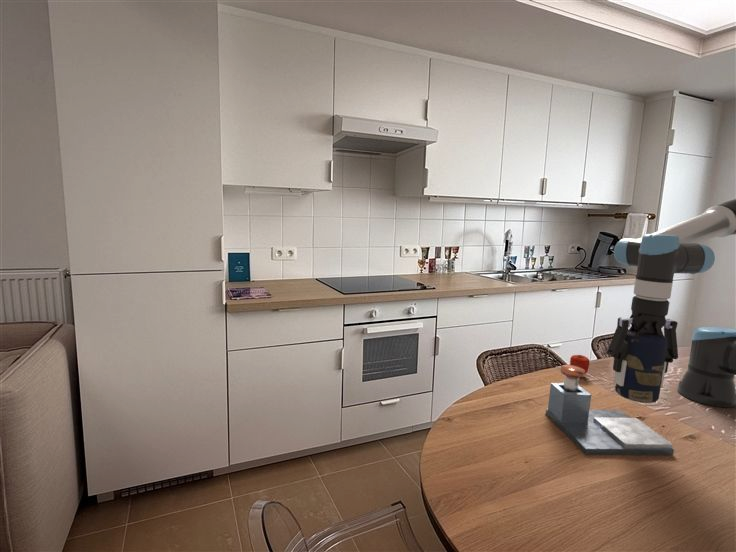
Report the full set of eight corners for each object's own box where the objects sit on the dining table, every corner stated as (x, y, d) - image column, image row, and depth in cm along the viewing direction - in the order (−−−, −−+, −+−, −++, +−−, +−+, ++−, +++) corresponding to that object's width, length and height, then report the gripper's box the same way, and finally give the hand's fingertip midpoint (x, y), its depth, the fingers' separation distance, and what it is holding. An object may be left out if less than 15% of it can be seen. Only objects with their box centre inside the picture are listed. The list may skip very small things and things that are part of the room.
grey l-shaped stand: (619, 414, 120) (623, 383, 118) (673, 455, 100) (679, 418, 99) (545, 413, 119) (549, 382, 117) (585, 454, 99) (590, 417, 97)
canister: (665, 408, 99) (677, 336, 97) (622, 403, 101) (632, 332, 98) (647, 392, 109) (657, 325, 106) (608, 387, 110) (617, 322, 108)
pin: (573, 394, 117) (577, 365, 116) (585, 404, 111) (589, 373, 110) (553, 394, 117) (556, 364, 115) (564, 403, 111) (568, 373, 109)
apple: (570, 371, 153) (572, 351, 152) (588, 375, 149) (591, 355, 148) (566, 376, 148) (569, 356, 147) (586, 380, 144) (588, 360, 143)
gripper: (682, 295, 105) (668, 379, 109) (598, 293, 104) (586, 377, 107) (707, 302, 98) (691, 391, 101) (617, 299, 96) (604, 389, 100)
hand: (637, 384), depth 104 cm, fingers closed on canister, 9 cm apart
